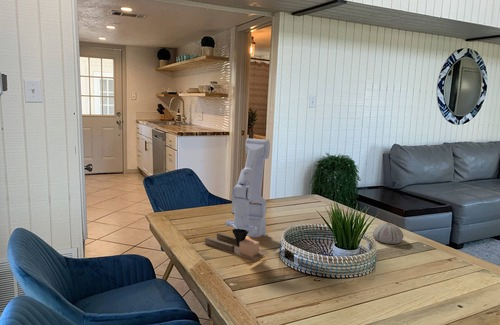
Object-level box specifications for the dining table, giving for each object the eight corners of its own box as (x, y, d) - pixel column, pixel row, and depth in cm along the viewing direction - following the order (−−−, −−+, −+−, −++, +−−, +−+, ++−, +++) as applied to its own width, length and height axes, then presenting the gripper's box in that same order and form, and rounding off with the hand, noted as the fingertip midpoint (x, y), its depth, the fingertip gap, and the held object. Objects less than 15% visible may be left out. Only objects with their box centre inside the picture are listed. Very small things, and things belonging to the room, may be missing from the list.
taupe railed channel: (220, 237, 172) (220, 230, 171) (270, 253, 157) (270, 245, 156) (199, 247, 161) (199, 239, 160) (251, 264, 146) (251, 255, 145)
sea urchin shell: (392, 248, 168) (394, 230, 166) (365, 238, 178) (367, 222, 176) (408, 242, 176) (410, 225, 174) (381, 233, 186) (383, 217, 185)
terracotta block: (246, 248, 158) (246, 238, 157) (258, 252, 155) (259, 242, 154) (239, 252, 154) (239, 241, 153) (251, 256, 151) (252, 245, 150)
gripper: (220, 212, 155) (220, 244, 158) (250, 220, 147) (249, 254, 150) (231, 208, 161) (230, 239, 163) (260, 216, 153) (259, 248, 155)
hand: (240, 246), depth 157 cm, fingers closed
